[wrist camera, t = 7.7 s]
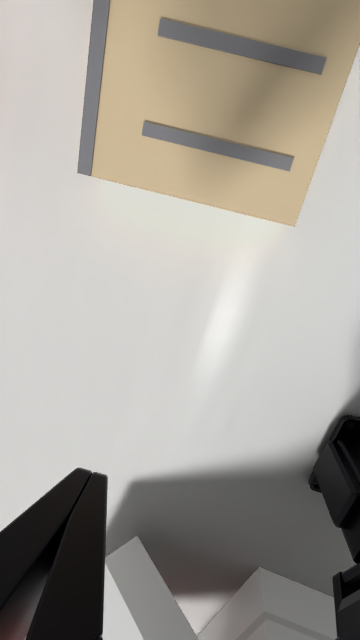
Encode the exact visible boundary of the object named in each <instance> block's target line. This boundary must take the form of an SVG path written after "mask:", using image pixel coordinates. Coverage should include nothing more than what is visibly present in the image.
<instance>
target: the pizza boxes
mask: <svg viewBox="0 0 360 640" xmlns="http://www.w3.org/2000/svg"><path fill="white" fill-rule="evenodd" d="M102 638H103V640H335V639H336V638H337V629H336V616H335V604H334V597H331V596H329V595H326V594H324V593H322V592H319V591H317V590H314V589H312V588H309V587H307V586H305V585H302V584H300V583H297V582H295V581H292V580H290V579H288V578H285V577H283V576H280V575H278V574H275V573H273V572H271V571H268V570H266V569H263V568H261V567H258V569H257V570H256V571H255V572H254V573H253V574H252V575H251V576H250V578H249V579H248V580H247V581H246V582H245V583H244V584H243V585H242V587H241V588H240V589H239V590H238V591H237V592H236V593H235V594H234V595H233V597H232V598H231V599H230V600H229V601H228V602H227V603H226V604H225V606H224V607H223V608H222V609H221V610H220V611H219V612H218V613H217V614H216V616H215V617H214V618H213V619H212V620H211V621H210V622H209V623H208V625H207V626H206V627H205V628H204V629H203V630H202V631H201V632H200V634H199V635H198V636H196V634H195V632H194V631H193V629H192V627H191V626H190V624H189V622H188V621H187V619H186V617H185V616H184V614H183V612H182V610H181V609H180V607H179V605H178V604H177V602H176V600H175V599H174V597H173V595H172V594H171V592H170V590H169V589H168V587H167V585H166V583H165V582H164V580H163V578H162V577H161V575H160V573H159V572H158V570H157V568H156V567H155V565H154V563H153V562H152V560H151V558H150V556H149V555H148V553H147V551H146V550H145V548H144V546H143V545H142V543H141V541H140V540H139V538H138V536H136V537H134V538H133V539H131V540H130V541H128V542H127V543H125V544H124V545H123V546H121V547H120V548H118V549H117V550H115V551H114V552H112V553H111V554H110V555H108V556H107V557H105V581H104V613H103V634H102Z"/></svg>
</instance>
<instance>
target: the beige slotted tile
mask: <svg viewBox="0 0 360 640" xmlns="http://www.w3.org/2000/svg"><path fill="white" fill-rule="evenodd" d="M359 44H360V0H94V1H93V12H92V23H91V33H90V44H89V55H88V65H87V76H86V87H85V97H84V108H83V118H82V129H81V140H80V150H79V161H78V172H77V173H80V174H84V175H88V176H92V177H96V178H100V179H104V180H108V181H112V182H116V183H120V184H124V185H128V186H133V187H137V188H141V189H145V190H149V191H153V192H157V193H161V194H165V195H169V196H173V197H177V198H181V199H185V200H189V201H193V202H197V203H201V204H205V205H209V206H213V207H217V208H221V209H225V210H229V211H233V212H237V213H241V214H245V215H249V216H254V217H258V218H262V219H266V220H270V221H274V222H278V223H282V224H286V225H290V226H294V227H295V224H296V222H297V219H298V216H299V213H300V210H301V207H302V205H303V202H304V199H305V196H306V193H307V191H308V188H309V185H310V182H311V179H312V177H313V174H314V171H315V168H316V165H317V162H318V160H319V157H320V154H321V151H322V148H323V146H324V143H325V140H326V137H327V134H328V132H329V129H330V126H331V123H332V120H333V117H334V115H335V112H336V109H337V106H338V103H339V101H340V98H341V95H342V92H343V89H344V87H345V84H346V81H347V78H348V75H349V72H350V70H351V67H352V64H353V61H354V58H355V56H356V53H357V50H358V47H359Z"/></svg>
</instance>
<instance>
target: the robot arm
mask: <svg viewBox="0 0 360 640" xmlns="http://www.w3.org/2000/svg"><path fill="white" fill-rule="evenodd" d="M349 422H352V423H351V424H349V425H347V424H348V423H349ZM313 470H314V471H313V472H312V474H311V476H310V478H309V481H308V482H309V485H310V488H311V489H312V490H314V491H317V492H320V493H322V494H323V497H324V499H325V502H326V505H327V507H328V510H329V513H330V515H331V518H332V521H333V523H334V524H335V526H336V527H339V528H341V529H342V532H343V534H344V537H345V540H346V542H347V545H348V547H349V550H350V552H351V555H352V557H353V560H354V562H355V563H357V564H356V565H354V566H353V567H351V568H350V569H348V570H346V571H345V572H343V573H342V572H339V573H338V574H336V575H334V576H333V591H334V604H335V616H336V629H337V638H336V639H335V640H360V417H356V416H352V415H346V416H344V417H342V418H341V420H340V422H339V423H338V425H337V427H336V429H335V431H334V433H333V435H332V437H331V438H330V440H329V442H327V444H326V445H325V447H324V449H323V451H322V453H321V455H320V457H319V459H318V461H317V462H316V464H315V466H314V468H313ZM316 483H317V484H316ZM107 484H108V477H107V475H104V474H101V473H97V472H93V473H92V472H91V471H90V470H87V469H83V468H76V469H75V470H74V471H72V472H71V473H70V474H69V475H68V476H66V477H65V478H64V479H63V480H62V481H60V482H59V483H58V484H57V485H56V486H54V487H53V488H52V489H51V490H50V491H49V492H47V493H46V494H45V495H44V496H43V497H41V498H40V499H39V500H38V501H37V502H35V503H34V504H33V505H32V506H31V507H29V508H28V509H27V510H26V511H25V512H23V513H22V514H21V515H20V516H19V517H17V518H16V519H15V520H14V521H13V522H11V523H10V524H9V525H8V526H7V527H5V528H4V529H3V530H2V531H1V532H0V640H103V638H102V634H103V613H104V581H105V549H106V517H107ZM25 638H26V639H25Z"/></svg>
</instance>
